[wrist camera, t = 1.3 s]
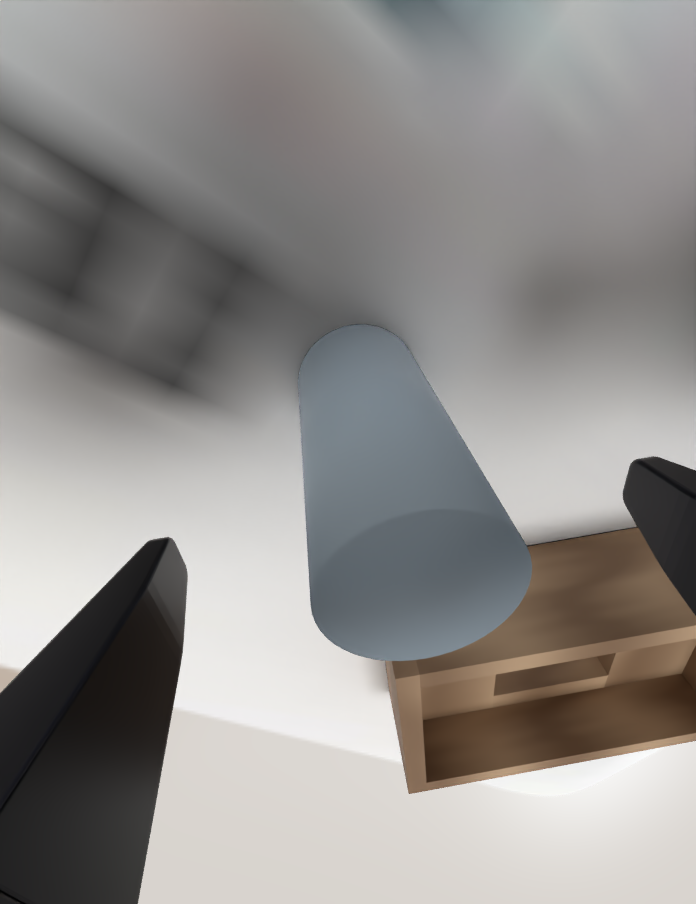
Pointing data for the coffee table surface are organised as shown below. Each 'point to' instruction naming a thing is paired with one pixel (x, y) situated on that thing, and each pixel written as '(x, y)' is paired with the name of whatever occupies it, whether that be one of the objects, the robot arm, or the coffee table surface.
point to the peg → (397, 508)
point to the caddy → (556, 672)
